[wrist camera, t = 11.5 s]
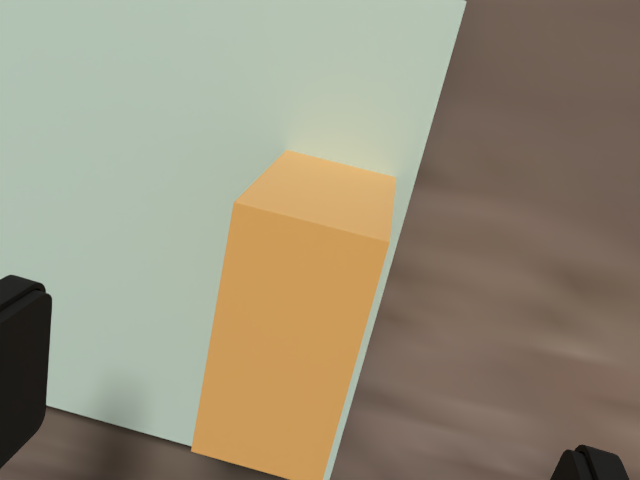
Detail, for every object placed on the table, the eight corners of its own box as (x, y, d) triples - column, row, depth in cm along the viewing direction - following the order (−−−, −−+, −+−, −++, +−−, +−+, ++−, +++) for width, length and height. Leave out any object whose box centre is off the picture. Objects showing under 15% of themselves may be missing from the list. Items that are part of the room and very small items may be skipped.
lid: (461, 3, 15) (494, -11, 9) (333, 452, 21) (301, 630, 15) (-6, -105, 16) (-262, -185, 10) (-12, 355, 22) (-180, 487, 15)
